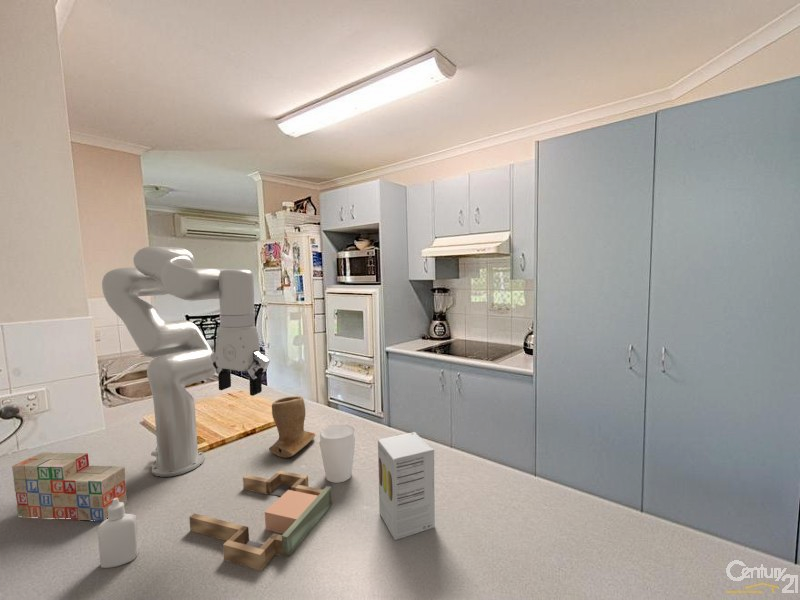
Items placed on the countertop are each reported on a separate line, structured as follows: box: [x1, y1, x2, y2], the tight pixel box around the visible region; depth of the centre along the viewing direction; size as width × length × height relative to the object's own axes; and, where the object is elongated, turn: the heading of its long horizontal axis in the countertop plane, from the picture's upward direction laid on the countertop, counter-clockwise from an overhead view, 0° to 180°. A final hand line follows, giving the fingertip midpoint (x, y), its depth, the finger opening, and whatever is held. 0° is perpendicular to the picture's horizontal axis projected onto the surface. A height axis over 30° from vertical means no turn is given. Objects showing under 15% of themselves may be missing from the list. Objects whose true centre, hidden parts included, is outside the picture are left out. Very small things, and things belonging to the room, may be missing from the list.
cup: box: [319, 423, 356, 484], centre depth 94 cm, size 9×9×12 cm
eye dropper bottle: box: [97, 498, 140, 569], centre depth 67 cm, size 4×6×12 cm
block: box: [264, 490, 317, 534], centre depth 77 cm, size 8×8×4 cm
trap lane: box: [188, 470, 333, 571], centre depth 79 cm, size 24×24×4 cm
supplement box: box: [377, 431, 436, 541], centre depth 76 cm, size 10×9×17 cm
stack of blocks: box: [11, 451, 128, 522], centre depth 82 cm, size 21×6×12 cm, turn 84°
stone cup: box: [268, 395, 316, 459], centre depth 110 cm, size 15×12×15 cm
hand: (240, 391), depth 88 cm, fingers open, 9 cm apart
